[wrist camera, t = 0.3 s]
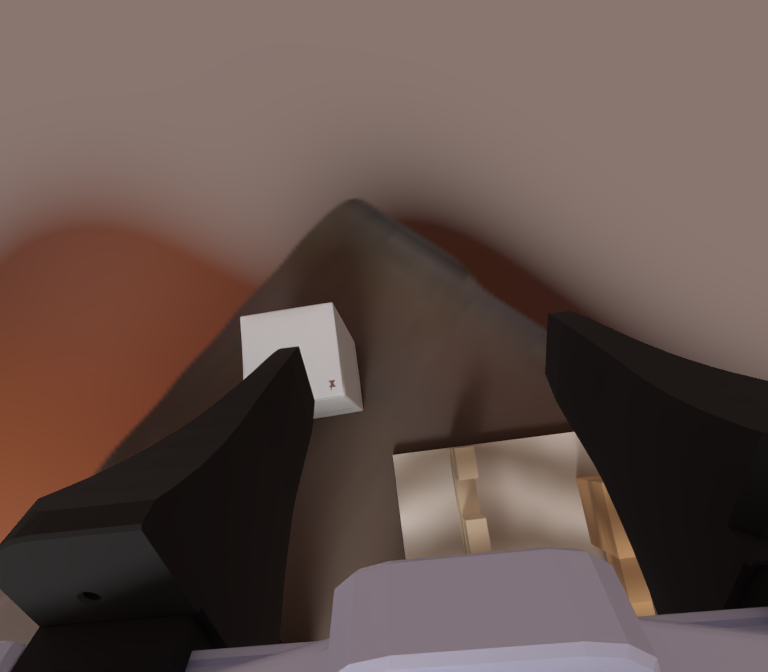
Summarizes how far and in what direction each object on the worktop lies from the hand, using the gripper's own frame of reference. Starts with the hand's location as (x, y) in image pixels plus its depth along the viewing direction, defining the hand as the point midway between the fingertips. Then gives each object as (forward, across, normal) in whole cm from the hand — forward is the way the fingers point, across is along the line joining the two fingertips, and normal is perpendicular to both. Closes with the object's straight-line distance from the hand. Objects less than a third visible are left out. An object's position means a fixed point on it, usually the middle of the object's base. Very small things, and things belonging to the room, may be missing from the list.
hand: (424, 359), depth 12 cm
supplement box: (+24, +10, +17) cm, 31 cm away
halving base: (+13, -6, +30) cm, 33 cm away
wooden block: (+12, -13, +30) cm, 35 cm away
